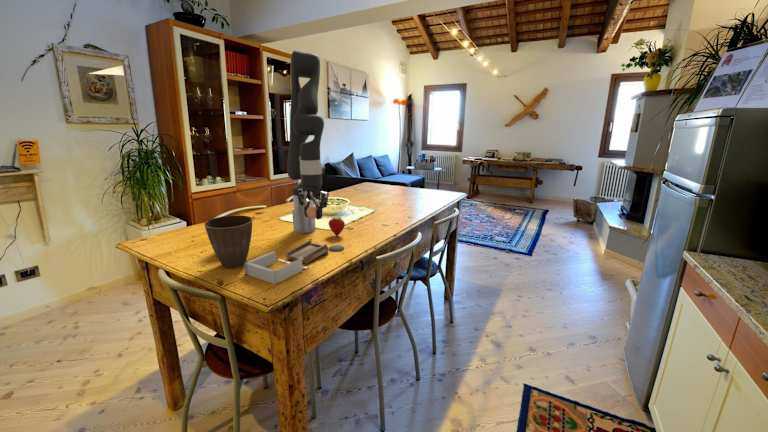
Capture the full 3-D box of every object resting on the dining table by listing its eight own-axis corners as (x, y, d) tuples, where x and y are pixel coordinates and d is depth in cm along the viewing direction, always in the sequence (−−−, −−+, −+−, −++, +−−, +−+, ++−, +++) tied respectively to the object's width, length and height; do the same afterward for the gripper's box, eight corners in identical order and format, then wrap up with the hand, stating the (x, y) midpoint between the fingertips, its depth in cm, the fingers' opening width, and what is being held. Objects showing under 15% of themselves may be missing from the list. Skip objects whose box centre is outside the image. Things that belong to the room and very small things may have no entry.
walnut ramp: (286, 259, 124) (285, 249, 123) (309, 249, 134) (308, 239, 133) (306, 265, 119) (305, 254, 118) (328, 254, 129) (328, 244, 128)
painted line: (277, 260, 123) (277, 259, 123) (279, 259, 124) (279, 258, 123) (305, 268, 116) (305, 268, 116) (307, 267, 117) (307, 267, 117)
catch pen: (245, 274, 112) (244, 262, 110) (273, 261, 121) (273, 251, 120) (275, 284, 105) (274, 272, 104) (302, 270, 115) (301, 259, 113)
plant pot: (261, 267, 117) (256, 223, 112) (213, 277, 109) (207, 230, 105) (251, 253, 129) (247, 213, 125) (208, 261, 121) (202, 219, 117)
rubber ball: (303, 219, 125) (303, 206, 124) (313, 216, 129) (312, 203, 128) (314, 221, 123) (313, 207, 121) (323, 218, 127) (322, 205, 125)
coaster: (325, 249, 133) (325, 248, 133) (335, 245, 138) (335, 244, 138) (337, 252, 130) (337, 251, 130) (347, 247, 135) (346, 246, 135)
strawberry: (333, 232, 154) (332, 211, 151) (347, 234, 151) (347, 213, 148) (326, 236, 149) (325, 214, 146) (340, 238, 146) (340, 216, 143)
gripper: (289, 172, 122) (292, 217, 126) (319, 175, 115) (321, 223, 119) (303, 169, 128) (306, 213, 132) (333, 172, 121) (335, 218, 125)
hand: (313, 217), depth 126 cm, fingers closed on rubber ball, 5 cm apart
